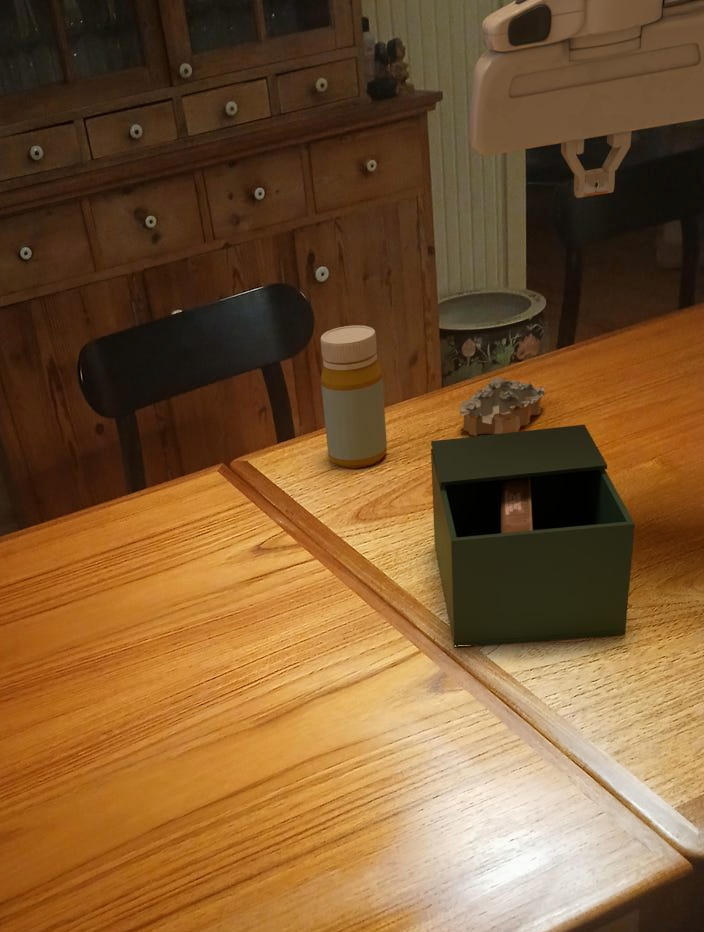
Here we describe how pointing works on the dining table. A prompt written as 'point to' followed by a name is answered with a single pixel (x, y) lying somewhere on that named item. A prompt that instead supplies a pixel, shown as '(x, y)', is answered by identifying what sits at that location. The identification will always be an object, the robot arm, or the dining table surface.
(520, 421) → the jagged grey brown block
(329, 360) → the bottle
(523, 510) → the tin
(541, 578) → the green hinged-lid box
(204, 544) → the dining table surface
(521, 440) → the flap
